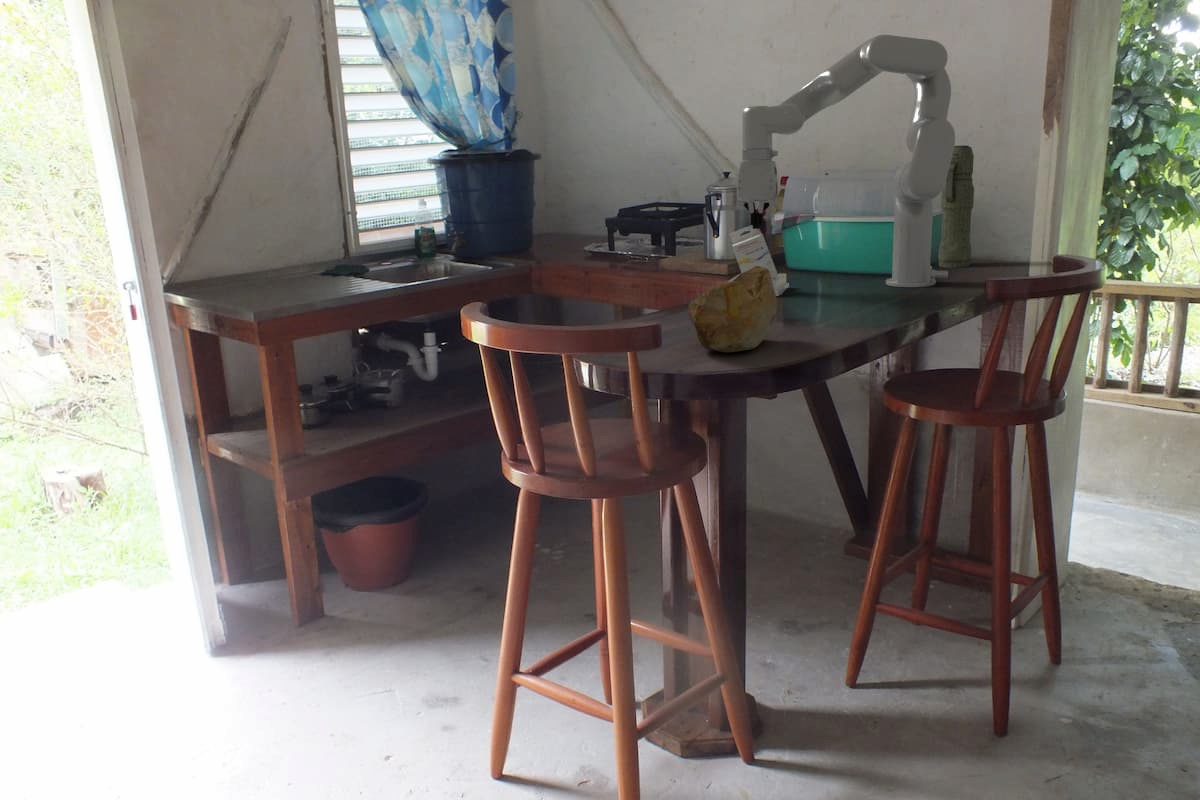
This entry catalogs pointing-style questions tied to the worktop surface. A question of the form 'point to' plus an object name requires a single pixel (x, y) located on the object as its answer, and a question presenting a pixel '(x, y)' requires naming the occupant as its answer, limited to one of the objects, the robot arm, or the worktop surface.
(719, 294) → the rough brown rock
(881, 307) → the worktop surface
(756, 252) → the ink cartridge box
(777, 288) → the rail dock
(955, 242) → the thermos
